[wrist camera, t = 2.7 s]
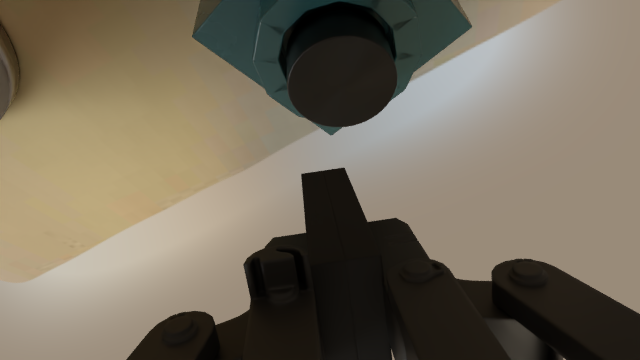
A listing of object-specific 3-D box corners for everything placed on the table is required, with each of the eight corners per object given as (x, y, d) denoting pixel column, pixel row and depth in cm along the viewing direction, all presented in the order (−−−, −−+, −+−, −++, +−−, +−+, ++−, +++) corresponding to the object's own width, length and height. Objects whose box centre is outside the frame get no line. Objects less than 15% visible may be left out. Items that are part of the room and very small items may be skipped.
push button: (265, 55, 21) (264, 89, 19) (339, -19, 19) (345, 12, 17) (335, 109, 24) (339, 142, 22) (408, 50, 21) (419, 83, 20)
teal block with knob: (208, -38, 28) (184, 64, 21) (322, -184, 23) (343, -118, 16) (322, 56, 33) (334, 163, 26) (433, -45, 28) (487, 52, 21)
